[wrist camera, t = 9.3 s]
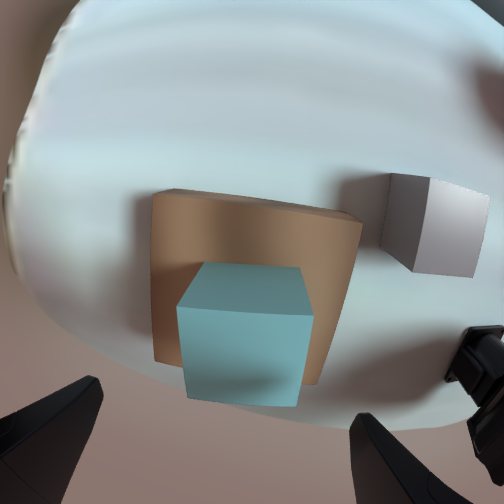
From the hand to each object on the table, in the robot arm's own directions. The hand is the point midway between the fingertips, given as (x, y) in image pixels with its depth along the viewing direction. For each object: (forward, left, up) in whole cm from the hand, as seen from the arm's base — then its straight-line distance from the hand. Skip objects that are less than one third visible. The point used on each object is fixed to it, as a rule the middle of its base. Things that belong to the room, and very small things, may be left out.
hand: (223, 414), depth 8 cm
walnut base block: (0, 0, -12) cm, 12 cm away
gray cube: (-11, -6, -12) cm, 17 cm away
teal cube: (0, 0, -8) cm, 8 cm away
